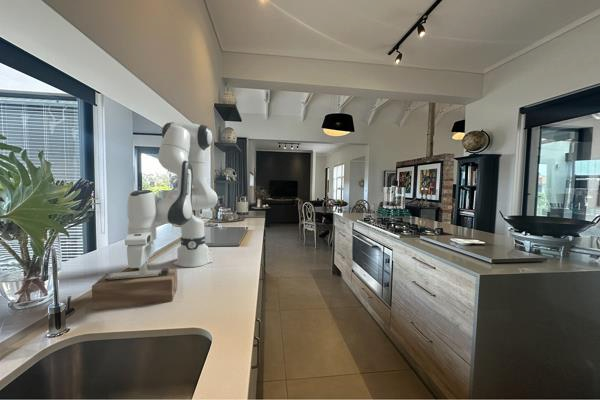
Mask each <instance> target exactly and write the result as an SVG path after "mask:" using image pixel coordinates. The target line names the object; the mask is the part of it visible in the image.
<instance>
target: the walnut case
mask: <svg viewBox="0 0 600 400" xmlns="http://www.w3.org/2000/svg"><path fill="white" fill-rule="evenodd" d="M160 270H161V273H160V274H159V276H149V277H136V278H123V279H110V280H105V277H106V276H107V275H109V274H110V273H106V274H105V275H103V276H102V277H100V279H98V280H97V282H94V284H92V285H91V294H92V295H91V298H92V299H91V300H92V301H91V303H92V310H101V309H112V308H121V307H129V306H139V305H149V304H157V303H166V302H168V303H169V302H173V300H174V298H175V295H176V292H177V291H178V268H169V267H163V268H161V269H160Z"/></svg>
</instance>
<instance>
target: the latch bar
mask: <svg viewBox="0 0 600 400" xmlns="http://www.w3.org/2000/svg"><path fill="white" fill-rule="evenodd" d="M161 270H162V269H153V270H152V269H148V271H146V272H145V274H140V273H139V271H134V272H132V271H123V272H121V271H120V272H109V273H108V274H109V275H107V276H106V277H105V280H110V279H123V278H136V277H149V276H159V274H160V273H161Z"/></svg>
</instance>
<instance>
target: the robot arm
mask: <svg viewBox="0 0 600 400" xmlns="http://www.w3.org/2000/svg"><path fill="white" fill-rule="evenodd" d="M161 136H162V140H161V144H160V146H159V151H158V155H157V159H158V161H159V162H158V163H159V164H160V166H161V167H162V168H164V169H165V170H167V171H169V172H170V173H173V174H175V175H176V176H177V189H172V190H171V189H170V190H169V191H167V193H165V197H163V198H162V197H160V196H157V195H156V194H155V193H154V191H153V190H152V189H141V190H135V191H132V192H131V193H129V195H128V199H127V206H126V208H127V209H126V210H127V212H126V213H127V218H128V225H127V234H126V237H125V238H124V246H126V257H127V266H128V268H129V269H132V268H139V273H140V274H145V272H146V271H147V264H148V265H149V259H150V258H151V257H153V255H154V254H155V240H157V224H169V225H170V224H171V225H177V226H180V230H181V237H180V246H178V248H177V260H175V261H174V262H173V265H174V266H179V267H180V268H181V267H183V268H195V267H201V266H205V265H207V264H211V263H213V262H214V261H213V259H212V257H211V256H210V252H209V246H208V245H207V244H206V239H207V238H206V234H205V222H204V220H203V219H202V218H201V217H198V216H197V215H194V211H197V210H208V209H212V208H215V207H216V206H217V203H218V201H219V200H218V199H219V198H218V195H217V193H216V191H215V190H214V189H212V187H210V185H209V183H208V182H207V181H208V180H207V177H206V149H208V148H209V147H210V146H211V145H212V142H213V131H212V129H211V128H210V126H208V125H204V124H198V123H191V122H174V121H172V122H167V123H165V124H164V125H163V127H162V129H161Z"/></svg>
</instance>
